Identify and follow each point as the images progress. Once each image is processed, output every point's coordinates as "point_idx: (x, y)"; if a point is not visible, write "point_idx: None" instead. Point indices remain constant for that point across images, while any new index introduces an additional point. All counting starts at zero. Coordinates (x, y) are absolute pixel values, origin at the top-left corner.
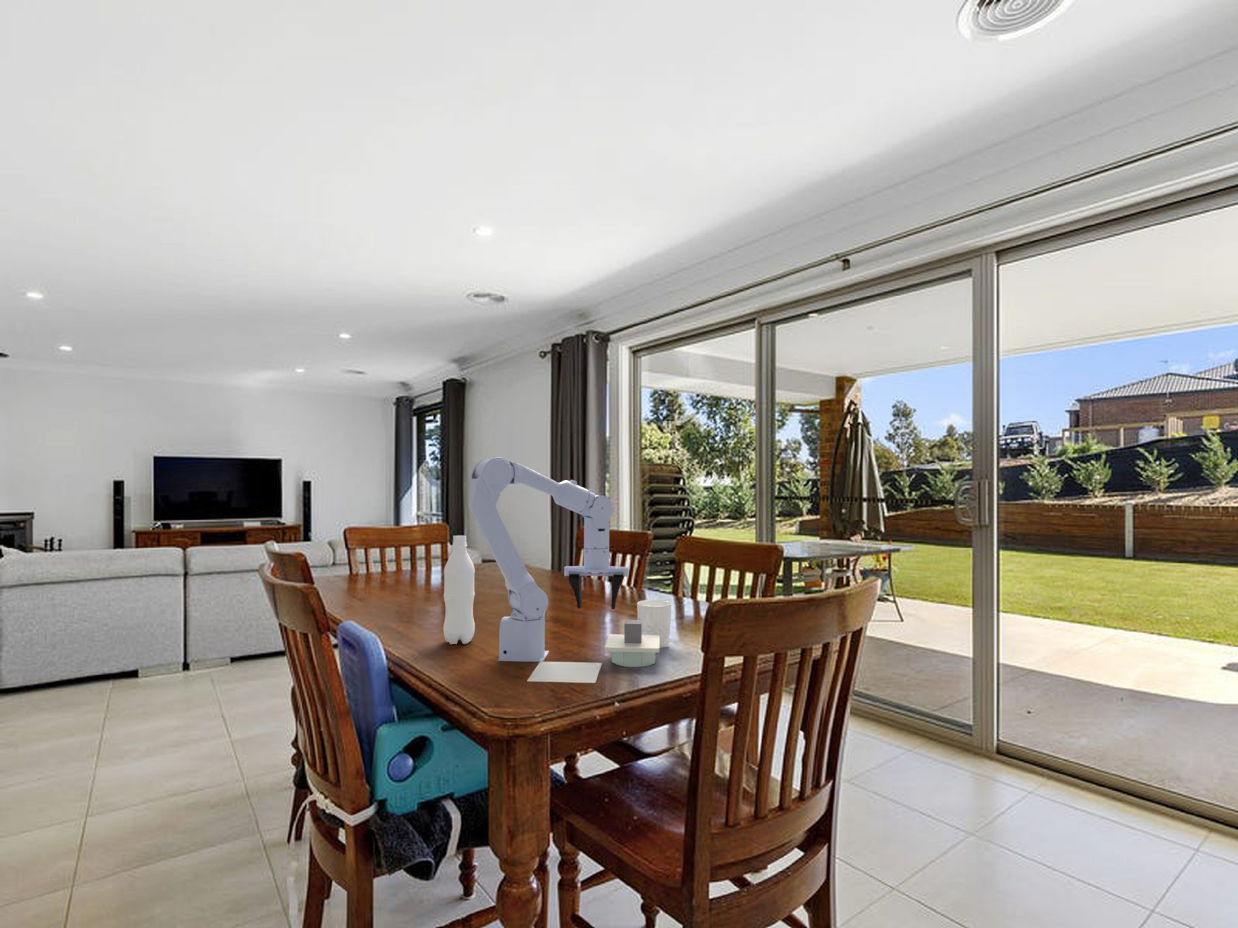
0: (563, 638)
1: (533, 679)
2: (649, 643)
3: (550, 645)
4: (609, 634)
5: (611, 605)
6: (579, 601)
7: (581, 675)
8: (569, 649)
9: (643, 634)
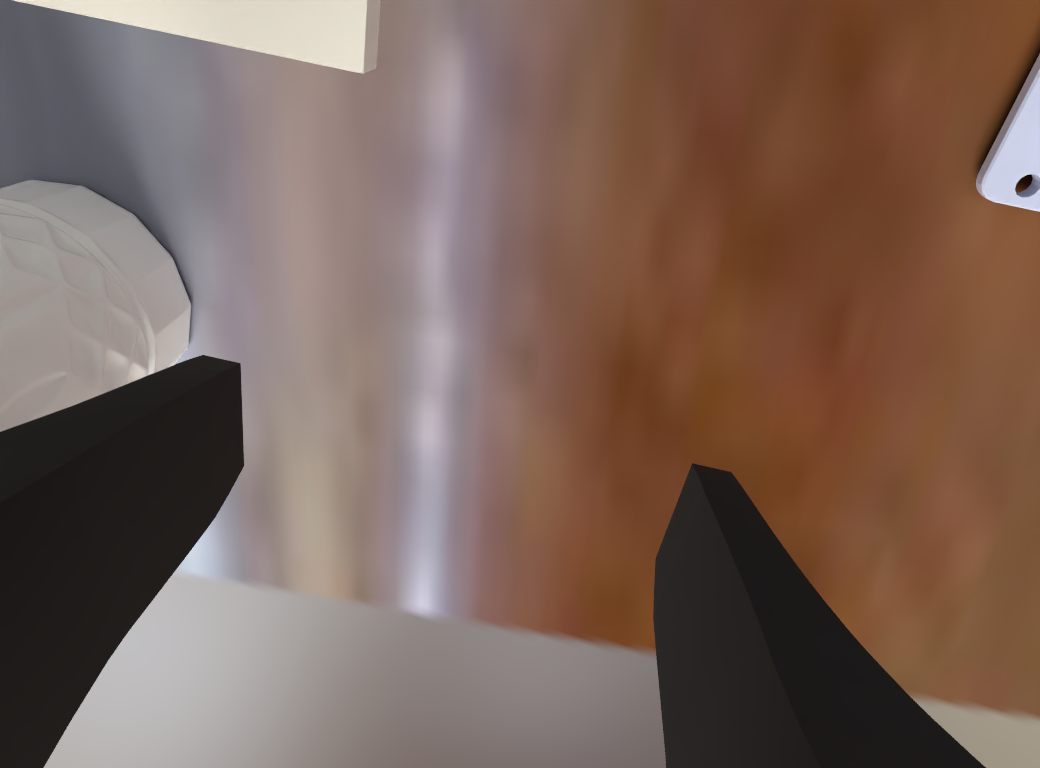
0: None
1: None
2: None
3: (879, 427)
4: (361, 59)
5: (211, 376)
6: (725, 520)
7: None
8: (749, 295)
9: (80, 266)
